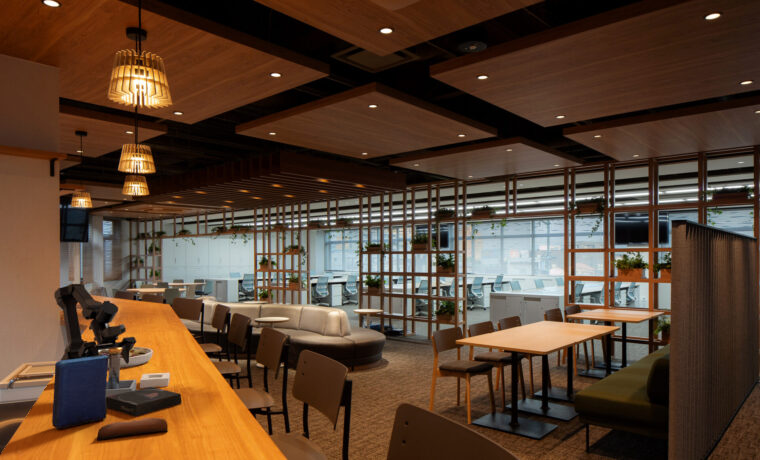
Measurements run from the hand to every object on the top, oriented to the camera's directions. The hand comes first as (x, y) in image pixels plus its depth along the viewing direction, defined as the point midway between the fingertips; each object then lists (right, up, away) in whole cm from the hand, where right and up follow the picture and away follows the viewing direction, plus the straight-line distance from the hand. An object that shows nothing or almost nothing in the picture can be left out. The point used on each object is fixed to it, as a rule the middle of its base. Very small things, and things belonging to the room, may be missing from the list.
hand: (115, 365), depth 180 cm
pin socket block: (+7, -12, +16) cm, 21 cm away
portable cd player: (+16, -11, -12) cm, 23 cm away
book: (+6, -9, -32) cm, 34 cm away
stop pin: (-1, -10, 0) cm, 10 cm away
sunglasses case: (+25, -10, -38) cm, 46 cm away
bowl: (-27, -14, +53) cm, 61 cm away
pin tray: (-1, -11, 0) cm, 11 cm away
